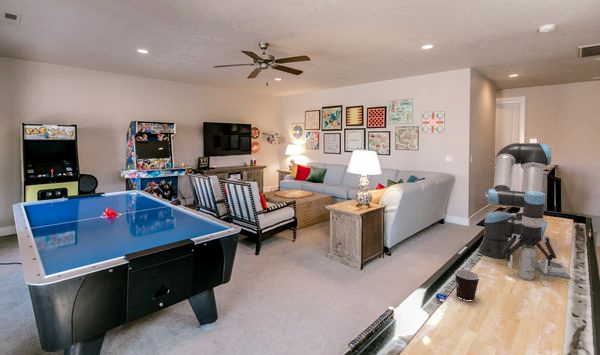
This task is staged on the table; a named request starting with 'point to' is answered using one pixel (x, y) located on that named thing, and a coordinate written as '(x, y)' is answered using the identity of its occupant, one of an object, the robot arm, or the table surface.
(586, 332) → the table surface
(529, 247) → the energy drink can
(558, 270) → the steel collar
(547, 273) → the slate plate
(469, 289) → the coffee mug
